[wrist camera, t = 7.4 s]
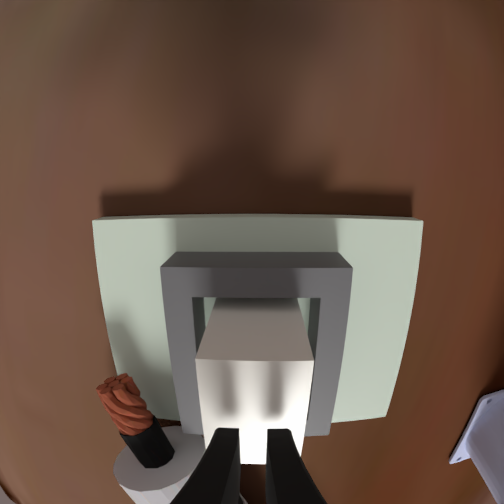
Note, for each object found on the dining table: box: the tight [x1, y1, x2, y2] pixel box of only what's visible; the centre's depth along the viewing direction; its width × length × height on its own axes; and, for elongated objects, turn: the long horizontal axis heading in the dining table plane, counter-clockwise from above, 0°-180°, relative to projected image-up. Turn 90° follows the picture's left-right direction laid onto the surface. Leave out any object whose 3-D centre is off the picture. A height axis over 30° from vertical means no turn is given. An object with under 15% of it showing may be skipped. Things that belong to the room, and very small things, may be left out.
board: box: [92, 214, 423, 436], centre depth 15 cm, size 16×12×4 cm
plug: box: [195, 298, 314, 464], centre depth 13 cm, size 4×5×6 cm
